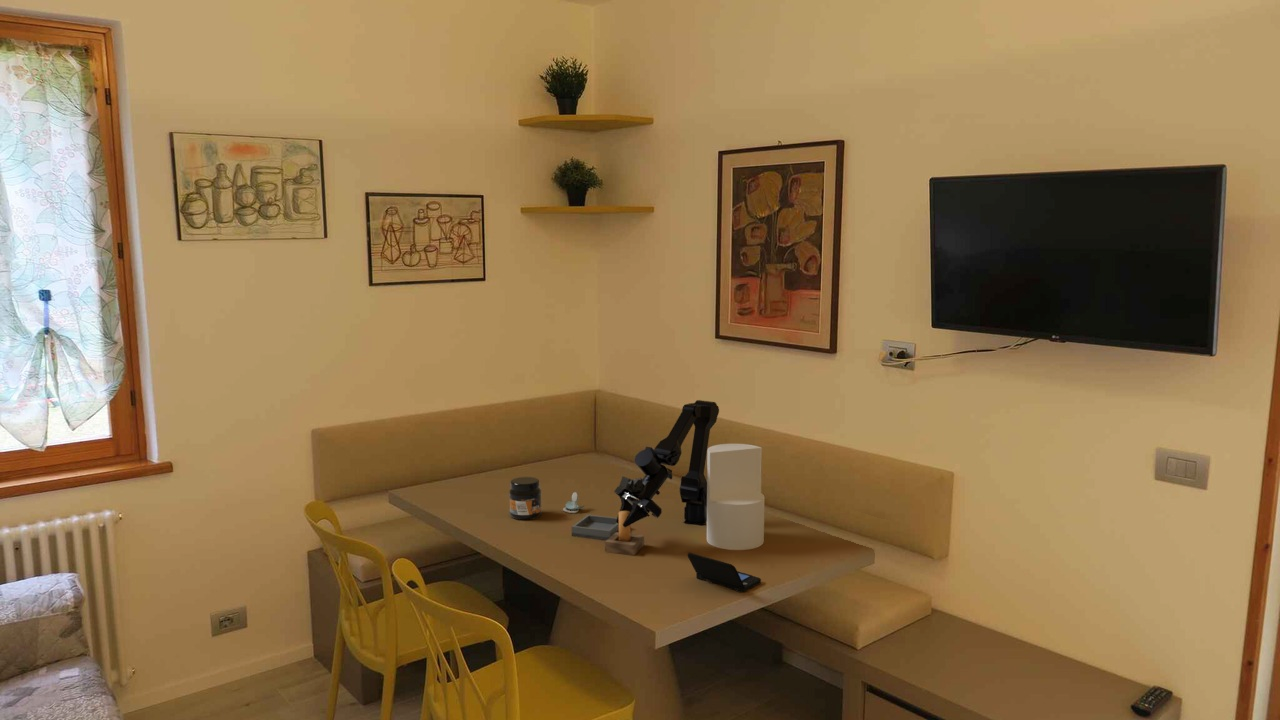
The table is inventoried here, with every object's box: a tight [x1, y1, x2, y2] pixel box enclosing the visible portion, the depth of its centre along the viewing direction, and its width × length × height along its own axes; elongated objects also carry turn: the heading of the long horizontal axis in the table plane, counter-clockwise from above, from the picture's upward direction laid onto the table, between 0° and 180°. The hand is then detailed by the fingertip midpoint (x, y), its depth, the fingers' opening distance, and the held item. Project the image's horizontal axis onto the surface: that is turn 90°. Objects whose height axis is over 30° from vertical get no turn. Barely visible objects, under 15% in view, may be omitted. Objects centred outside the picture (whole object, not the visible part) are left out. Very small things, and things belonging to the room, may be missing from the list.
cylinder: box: [706, 443, 765, 551], centre depth 267 cm, size 17×17×28 cm
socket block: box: [604, 532, 645, 556], centre depth 262 cm, size 9×9×3 cm
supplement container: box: [508, 476, 542, 521], centre depth 292 cm, size 10×10×12 cm
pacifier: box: [562, 491, 585, 514], centre depth 298 cm, size 7×6×6 cm
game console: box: [686, 552, 762, 593], centre depth 235 cm, size 16×14×9 cm
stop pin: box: [618, 510, 632, 542], centre depth 261 cm, size 4×4×10 cm
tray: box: [571, 514, 619, 541], centre depth 276 cm, size 13×13×3 cm
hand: (620, 524), depth 260 cm, fingers closed on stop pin, 3 cm apart
